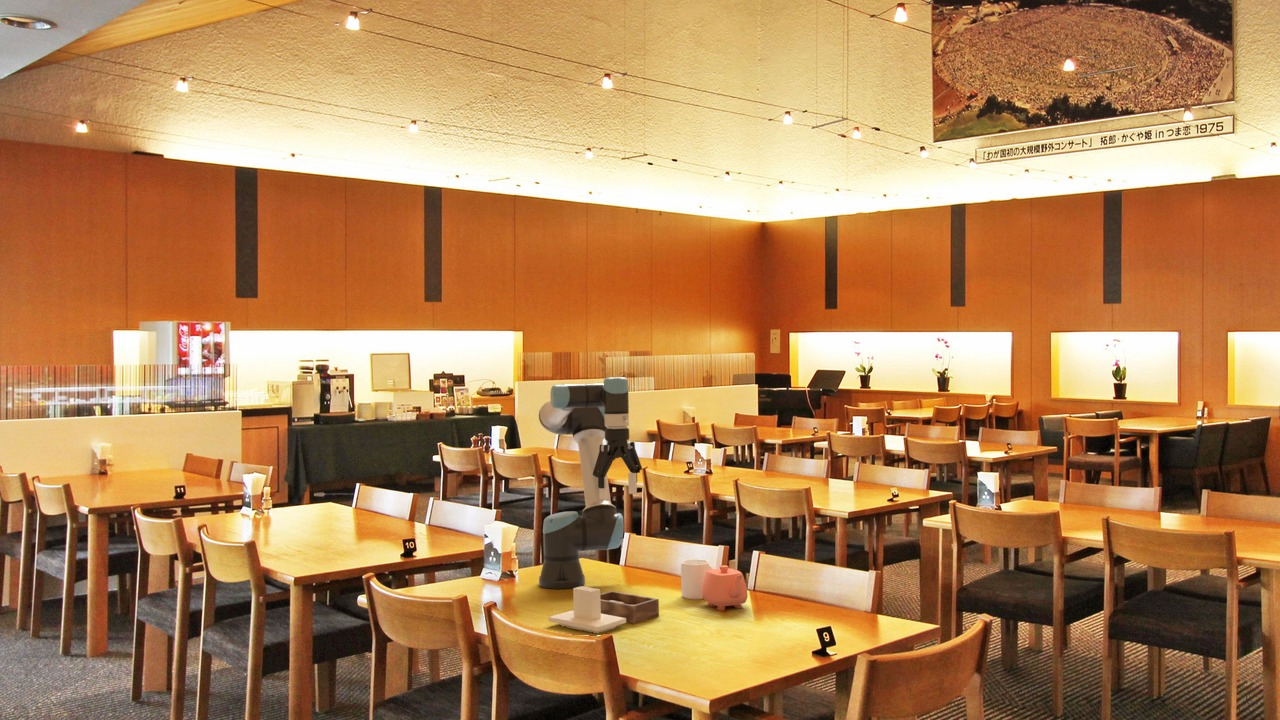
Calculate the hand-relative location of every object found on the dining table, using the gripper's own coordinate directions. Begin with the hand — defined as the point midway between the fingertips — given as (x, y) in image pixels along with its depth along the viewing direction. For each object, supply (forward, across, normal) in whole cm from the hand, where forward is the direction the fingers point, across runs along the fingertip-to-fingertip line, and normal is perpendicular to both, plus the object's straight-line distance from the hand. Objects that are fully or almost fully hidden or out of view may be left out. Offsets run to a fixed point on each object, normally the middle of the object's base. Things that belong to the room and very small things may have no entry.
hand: (618, 496), depth 328 cm
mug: (+32, +18, -17) cm, 40 cm away
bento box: (+32, -15, -14) cm, 38 cm away
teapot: (+32, +11, -32) cm, 47 cm away
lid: (+32, -30, -14) cm, 46 cm away
